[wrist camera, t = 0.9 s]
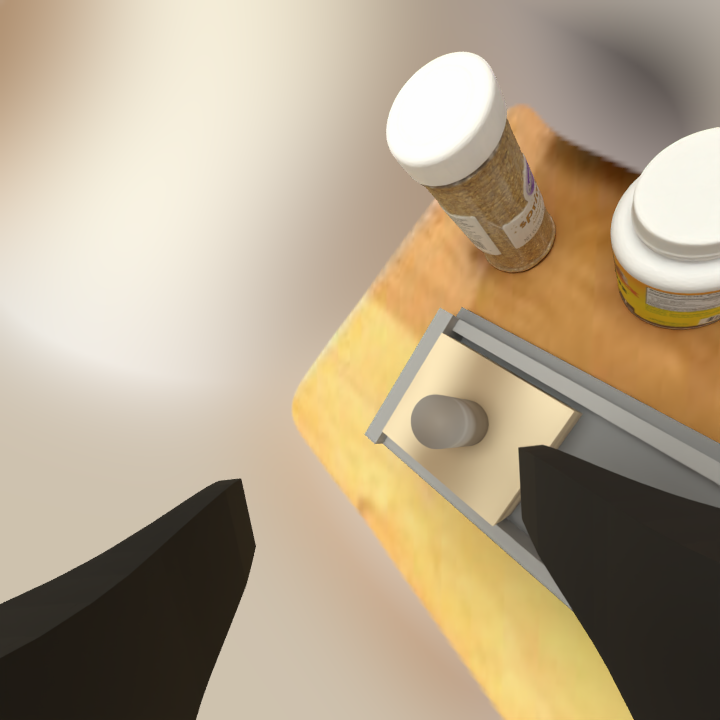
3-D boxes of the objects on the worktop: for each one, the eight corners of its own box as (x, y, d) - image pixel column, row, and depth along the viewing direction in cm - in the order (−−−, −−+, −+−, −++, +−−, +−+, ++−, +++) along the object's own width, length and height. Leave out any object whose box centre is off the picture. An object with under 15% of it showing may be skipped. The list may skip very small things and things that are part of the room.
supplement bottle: (631, 228, 23) (628, 111, 14) (767, 230, 19) (865, 82, 11) (606, 323, 23) (588, 262, 14) (736, 341, 19) (810, 276, 11)
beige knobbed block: (582, 413, 22) (560, 407, 16) (511, 514, 23) (464, 545, 17) (463, 343, 26) (409, 316, 20) (409, 431, 27) (342, 431, 21)
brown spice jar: (567, 253, 24) (511, 110, 13) (495, 285, 27) (396, 186, 16) (541, 193, 26) (471, 19, 15) (475, 229, 28) (371, 100, 17)
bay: (1015, 602, 14) (1126, 653, 11) (801, 800, 16) (841, 893, 13) (467, 310, 27) (444, 294, 24) (387, 441, 30) (356, 442, 26)
